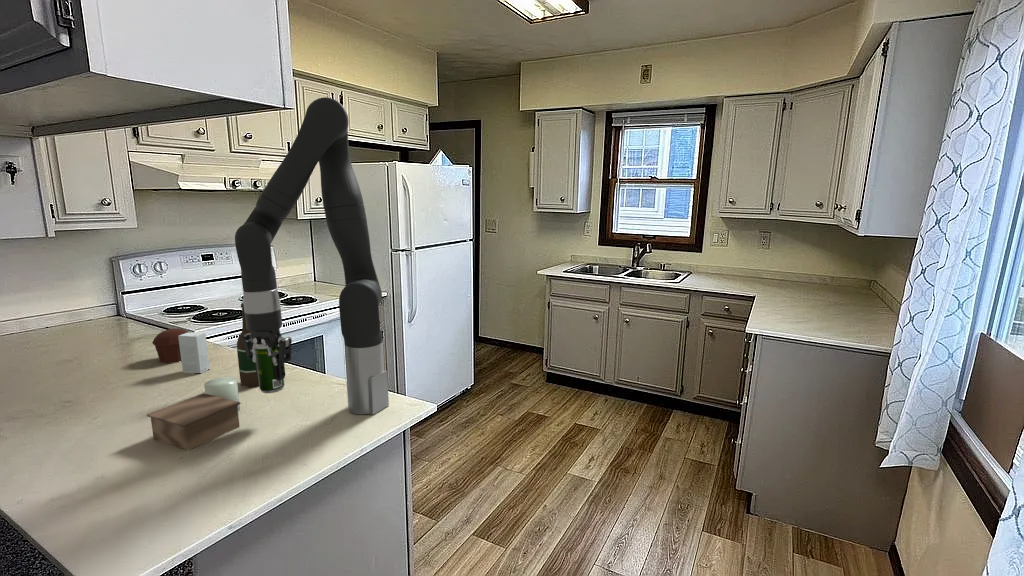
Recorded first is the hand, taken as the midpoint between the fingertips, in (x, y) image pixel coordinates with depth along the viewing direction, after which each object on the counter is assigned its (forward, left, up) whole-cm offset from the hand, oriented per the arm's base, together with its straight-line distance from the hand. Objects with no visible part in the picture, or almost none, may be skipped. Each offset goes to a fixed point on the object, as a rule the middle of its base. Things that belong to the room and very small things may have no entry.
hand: (271, 377), depth 116 cm
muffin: (+68, -19, -11) cm, 72 cm away
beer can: (0, 0, -3) cm, 3 cm away
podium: (+10, +12, -11) cm, 19 cm away
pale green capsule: (+15, +2, -11) cm, 19 cm away
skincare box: (+50, -14, -11) cm, 54 cm away
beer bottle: (+25, -15, -11) cm, 31 cm away
